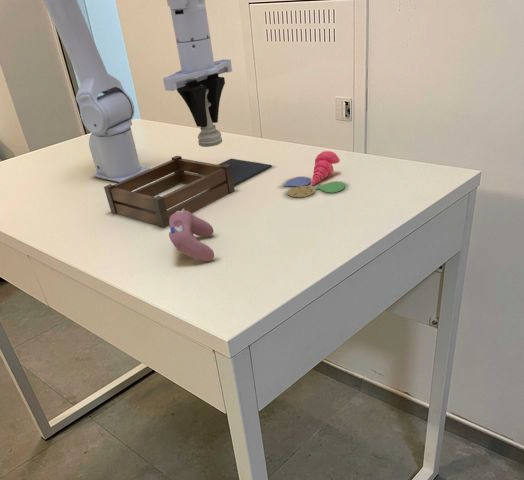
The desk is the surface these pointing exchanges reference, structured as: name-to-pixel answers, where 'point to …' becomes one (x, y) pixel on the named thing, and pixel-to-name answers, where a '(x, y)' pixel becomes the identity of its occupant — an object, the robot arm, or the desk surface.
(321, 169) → the toy pieces
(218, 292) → the desk surface
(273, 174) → the desk surface
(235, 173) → the mat
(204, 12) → the robot arm
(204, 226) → the video game controller
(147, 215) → the crate
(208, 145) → the chess piece
